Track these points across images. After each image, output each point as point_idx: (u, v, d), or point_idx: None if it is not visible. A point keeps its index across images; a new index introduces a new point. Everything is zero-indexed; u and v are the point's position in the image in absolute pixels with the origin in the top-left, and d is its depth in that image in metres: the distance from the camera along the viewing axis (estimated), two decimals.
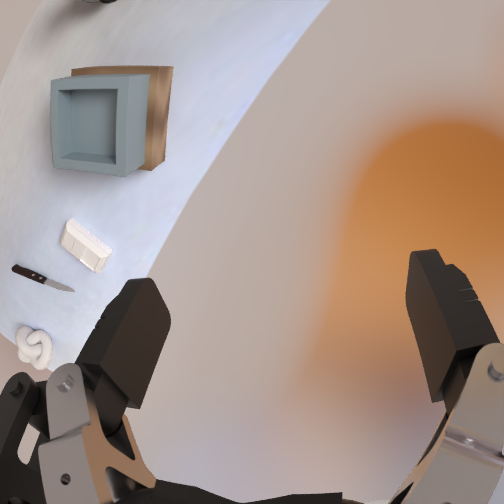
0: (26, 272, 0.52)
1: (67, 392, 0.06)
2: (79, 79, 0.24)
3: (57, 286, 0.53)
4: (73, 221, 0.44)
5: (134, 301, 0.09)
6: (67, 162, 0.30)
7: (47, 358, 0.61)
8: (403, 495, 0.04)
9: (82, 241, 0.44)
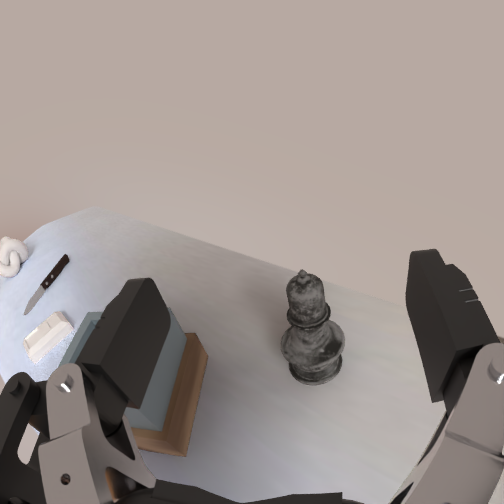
0: (57, 269, 0.57)
1: (67, 392, 0.06)
2: None
3: (33, 299, 0.50)
4: (69, 330, 0.41)
5: (134, 301, 0.09)
6: (83, 328, 0.28)
7: None
8: (403, 495, 0.04)
9: (47, 335, 0.38)
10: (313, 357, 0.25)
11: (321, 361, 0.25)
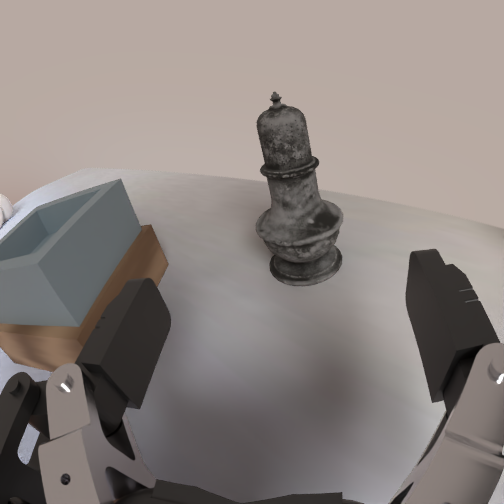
0: None
1: (67, 392, 0.06)
2: (90, 205, 0.18)
3: None
4: None
5: (134, 301, 0.09)
6: (26, 218, 0.21)
7: None
8: (403, 495, 0.04)
9: None
10: (299, 230, 0.19)
11: (311, 236, 0.18)
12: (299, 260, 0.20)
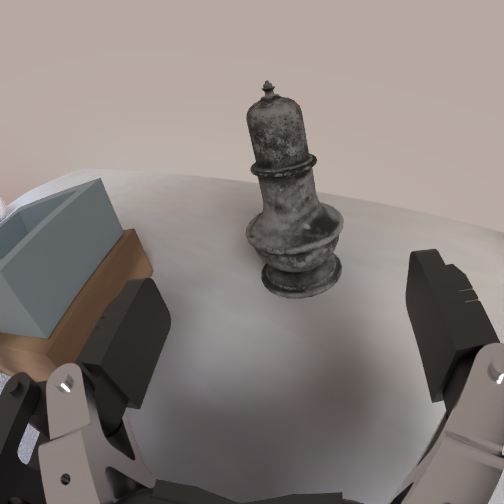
0: None
1: (67, 392, 0.06)
2: (63, 207, 0.16)
3: None
4: None
5: (134, 301, 0.09)
6: (7, 219, 0.20)
7: None
8: (403, 495, 0.04)
9: None
10: (293, 236, 0.17)
11: (307, 243, 0.16)
12: (293, 270, 0.18)
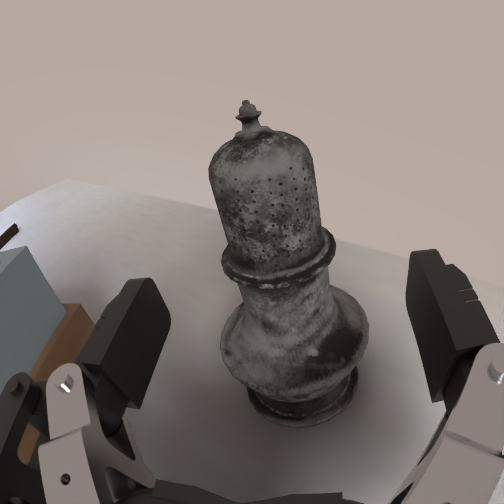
0: (1, 239, 0.42)
1: (67, 392, 0.06)
2: None
3: None
4: None
5: (134, 301, 0.09)
6: None
7: None
8: (403, 495, 0.04)
9: None
10: (290, 368, 0.10)
11: (311, 380, 0.10)
12: (290, 401, 0.11)
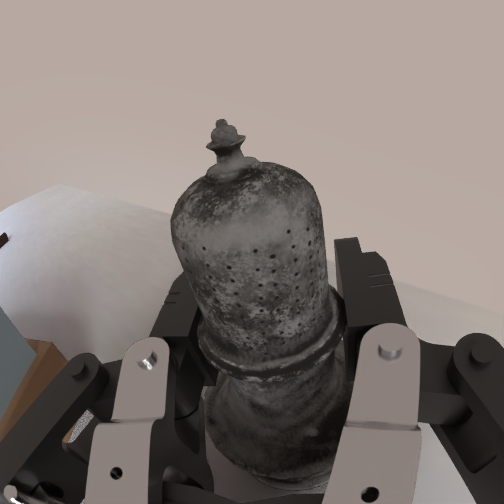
0: None
1: (154, 368, 0.06)
2: None
3: None
4: None
5: None
6: None
7: None
8: None
9: None
10: (284, 449, 0.08)
11: (308, 462, 0.07)
12: None
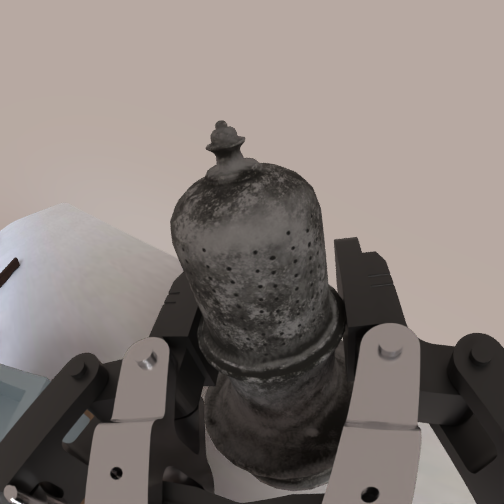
0: (3, 275, 0.42)
1: (154, 368, 0.06)
2: None
3: None
4: None
5: None
6: None
7: None
8: None
9: None
10: (284, 449, 0.08)
11: (309, 463, 0.07)
12: None
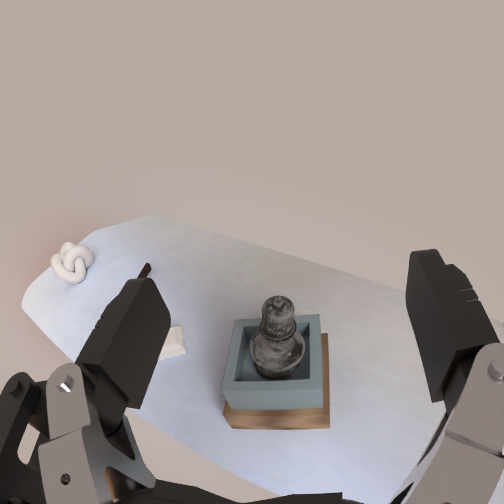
0: None
1: (67, 392, 0.06)
2: (319, 341, 0.33)
3: None
4: (181, 352, 0.47)
5: (134, 301, 0.09)
6: (238, 334, 0.37)
7: (58, 272, 0.67)
8: (403, 495, 0.04)
9: None
10: (283, 361, 0.30)
11: (291, 363, 0.30)
12: None
